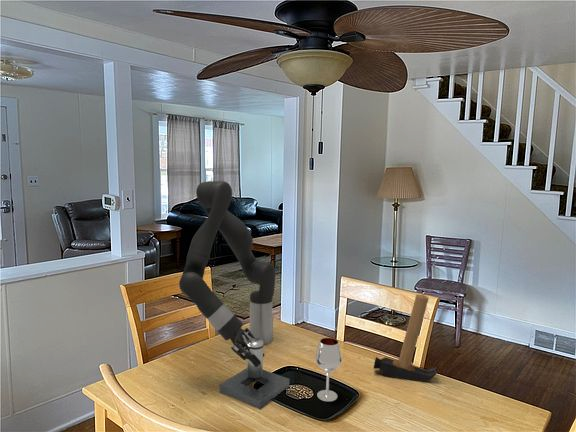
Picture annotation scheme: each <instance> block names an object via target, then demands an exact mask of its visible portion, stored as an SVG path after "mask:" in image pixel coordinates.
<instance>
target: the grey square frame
mask: <svg viewBox="0 0 576 432" xmlns="http://www.w3.org/2000/svg"><path fill="white" fill-rule="evenodd" d="M253 382H254V383H256V382H260V383H262V384H264V385H262V386H261V387H259V388H257V389H256V388H253V387H250V386H249V385H250V384H251V383H253ZM289 387H290V378H288V377H285V376H282V375H280V374H277V373H273V372H271V371H269V370H266V369H263V370H262V376H261V377H259V378H250V377H248V376H247V367H246V368H245V369H242V370H241V371H239V372H238V373H236V374H235V375H233V376H231V377H230V378H229V379H226V380H225V381H223V382H222V383H219V393H220V394H223V395H226V396H228V397H230V398H232V399H235V400H237V401H240V402H242V403H244V404H247V405H249V406H251V407H255V408H256V409H259V410H261V409H262V408H263V407H264V406H266V405H267V404H268V403H270V402H271V401H272V400H273V399H275V398H276V397H277V396H279V395H280V394H281V393H282V392H284V391H285V390H286V389H288V388H289ZM278 394H279V395H278ZM272 398H273V399H272ZM271 399H272V400H271Z"/></svg>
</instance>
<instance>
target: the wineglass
mask: <svg viewBox="0 0 576 432" xmlns="http://www.w3.org/2000/svg"><path fill="white" fill-rule="evenodd" d="M342 358H343V356H342V351H341V348H340V343H339V340H338V339H336V338H334V337H333V338H332V337H324V338H321V339H320V340H319V341H318V347H317V350H316V353H315V363H316V366H318V367H319V369H321V370H322V371H323V372H324V373H325V376H326V380H325V382H326V383H325V384H326V385H325V389H322V390H320V391H318V392H317V393H316V394H317V398H318V399H319V400H321V401H323V402H334V401H337V399H338V394H337V393H336V392H335V391H333V390H330V375H331V373H333V372H334V371H336V370H337V369H338V368H339V367H340V365H341V364H342V360H343V359H342Z"/></svg>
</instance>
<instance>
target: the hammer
mask: <svg viewBox="0 0 576 432" xmlns="http://www.w3.org/2000/svg"><path fill="white" fill-rule="evenodd" d="M429 299H430V298H429V296H426V295H424V294H416V295H415V299H414V301H413V302H414V303H413V306H412V310H411V313H410V317H409V321H408V324H407V329H406V332H405V336H404V339H403V342H402V343H403V344H402V347H401V350H400V355H399V358H398V359H392V358H389V357H387V356H386V357H383V358H381V359H380V358H379V357H378V356H375V358H374V364H373V369H375V370H376V369H377V370H378V369H379V371H380V373H381V374H382V375H384V376H388V377H391V378H394V379H398V380H403V381H405V380H406V381H412V382H418V383H427V382H429V381H431V380H433V378H434V377H435V376H436V375H437V371H436V366H433V367H432V368H428V369H427V368H421V367H419V366H415V365H413V364H412V362H413V356H414V353H415V350H416V346H417V342H418V339H419V335H420V332H421V328H422V324H423V320H424V316H425V313H426V310H427V306H428V303H429Z"/></svg>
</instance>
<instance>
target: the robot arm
mask: <svg viewBox="0 0 576 432" xmlns="http://www.w3.org/2000/svg"><path fill="white" fill-rule="evenodd" d="M196 187H197V188H196V191H195V192H196V198H197V201H198V203H199V205H200V206H201V207H202V209H203V210H204V212H206V214H207V218H206V219H205V220H204V222H203V223H202V225H201V226H200V227H199V228H198V230H197V231H196V232H195V234H194V235H193V237H192V239H191V242H190V244H189V249H188V252H187V255H186V261H185V262H186V263H185V266H184V269H183V271H182V275H181V277H180V279H179V285H178V286H179V291H180V292H181V293H182V294H183V295H185V296H187V298H189V299H190V300H191V302H192V303H193V304H195V305H196V307H197V309H198V311H199V312H200V313H201V314H202V316H204V317H205V319H206V320H207V321H208V322H209V323H210V325H211V327H213V328H214V329H215V331H216V332H217V333H218V334H219V335H220V336H221V338H223V339H224V341H229V340H230V341H231V342H232V344H233V345H232V346H231V347H230V348H231V350H232V351H233V353H235V354H236V355H237V356H238V357H240V358H241V359H242V360H243V361H247V359H249V360H250V361H251V362H252V364H253V365H254V366H255V367H258V366H259V365H260V364H261V361H260V360H259V359H258V358H257V357H256V356H255V355H254V354H253V352H252V351H251V349H250V345H249V344H248V340H249V339H253V338H258V339H262V340H263V344H264V346H266V345H269V344H270V343H272V340H273V339H274V335H273V334H274V317H273V301H274V300H273V298H274V295H275V285H276V284H275V283H276V268H275V266H274V264H272V263H270V262H265V261H260V260H258V259H257V258H256V257H255V255H254V254H253V251H252V250H253V244H254V243H253V242H254V239H253V236H252V235H251V232H250V231H249V229H248V227H247V226H246V224H245V223H244V222H243V221H242V220H241V219H240V218H238V217H237V216H236V215H234V214H233V213H232V212H230V210H228V209H229V207H230V205H231V201H232V199H233V189H232V186H231V185H230V183H228V182H227V181H224V180H216V181H215V180H211V181H204V182H200V183H199V184H198V185H197V186H196ZM218 231H220V233H221V235H222V237H223V238H224V240H225V242H226V243H227V245H228V246H229V248H230V249H231V251H232V253H233V254H234V256H235V258H236V259H237V260H238V262H239V264H240V266H241V269H242V271H243V273H244V276H245V277H246V279H247V280H248V281H249V282H250V283H252V284H257V285H258V286H259V289H258V290H254V291H252V292H251V293H250V294H249V295H250V296H249V328H248V327H245V328H244V329H243V328H242V327H243V325H244V323H243V322H242V320H241V319H239V317H238V316H237V315H236V314H235V313H234V312H233V310H231V309H230V308H229V307H228V306H227V305H225V303H224V302H223V301H222V300H221V299H220V298H219V297H218V296H217V295H216V294H215V293H214V292H213V291H212V289H211V288H210V287H209V285H208V284H207V282H206V281H205V280H204V275H205V270H206V267H207V265H208V262H209V260H210V256H211V252H212V248H213V246H214V242H215V239H216V237H217V233H218ZM247 350H248V351H247ZM265 355H266V354H265V352H263V358H264V357H265Z"/></svg>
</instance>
